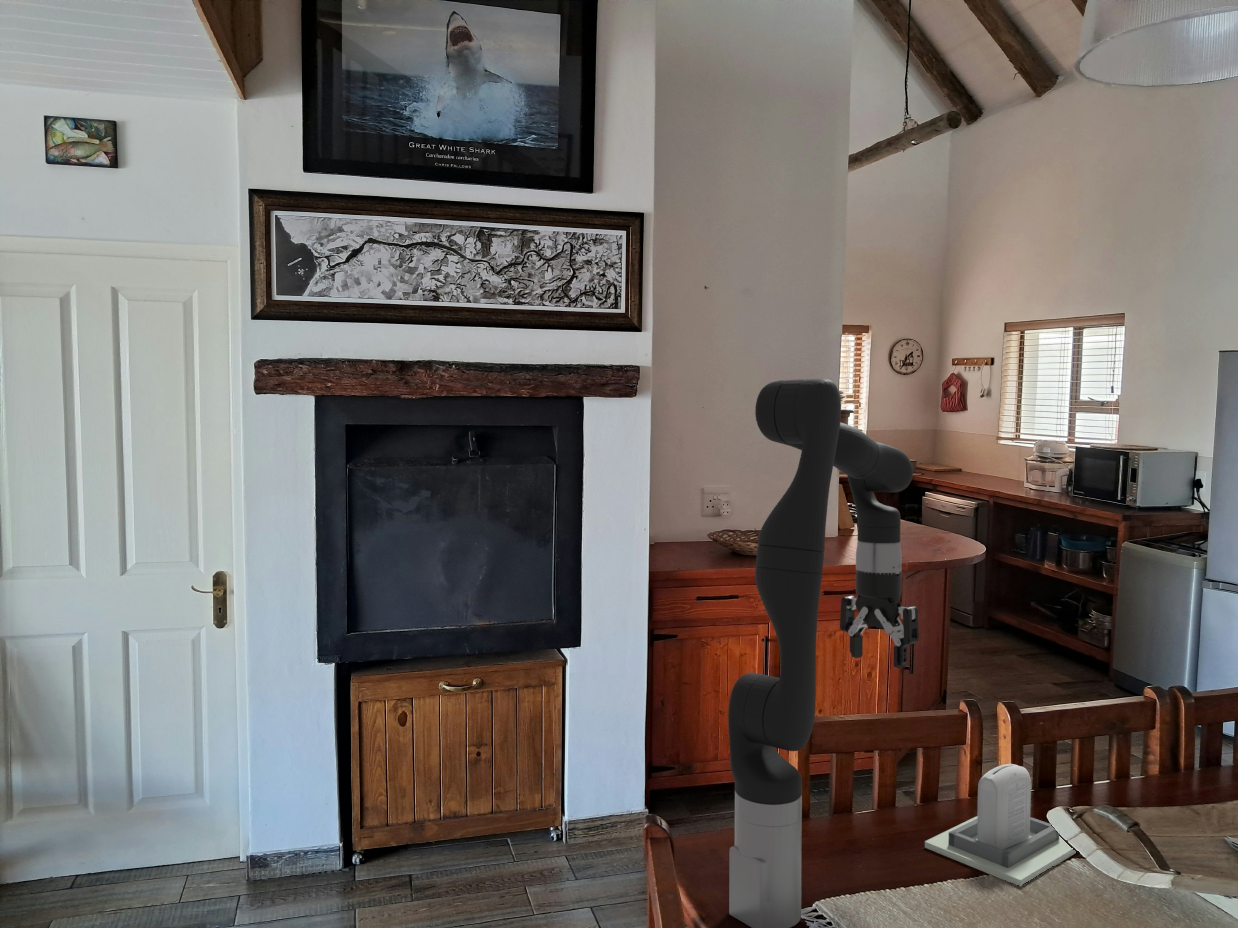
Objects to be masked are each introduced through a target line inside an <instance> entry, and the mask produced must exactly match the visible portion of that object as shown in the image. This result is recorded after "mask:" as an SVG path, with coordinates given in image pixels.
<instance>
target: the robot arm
mask: <svg viewBox="0 0 1238 928" xmlns="http://www.w3.org/2000/svg"><path fill="white" fill-rule="evenodd" d="M754 407H755V410H754V411H755V413H754V414H755V421H756V424H757V427H758V429H759V431H760V432H761V435H763V436H764V437H765V438H766V439H768V440H769V441H771V442H775V443H778V444H782V445H786V446H789V447H792V448H795V449H798V450H799V451H801V454H800V456H799V457H800V458H799V462H798V465H797V466H798V467H797V470H796V473H795V475H794V477H793V479H792V481H791V483H790V485H789V487H788V488H787V490H786V491H785V493H784V494H783V495H782V496H781V498H780V499H779V500H778V502H777V503H776V505H774V508H773V509H772V510H771V511H770V513H769V515H768V516H767V518H766V519H765V521H764V522H763V524H762V526H761V528H760V531H759V535H758V540H757V547H756V548H757V549H756V557H755V558H756V561H755V570H754V571H755V574H754V578H755V585H756V588H757V592H758V594H759V597H760V599H761V602H762V605H763V606H764V609H765V611H766V612H767V613H766V614H767V615H768V617H769V620H770V623H771V624H772V627H773V629H774V631H775V635H776V640H777V642H778V647H779V648H778V649H779V664H780V665H779V667H780V668H779V677H776V676H771V675H766V674H763V673H758V672H757V673H755V672H749V673H745V674H743V675H741V676H740V677H738V678H737V680H736V682H735V683H734V684H733V687H732V689H731V693H730V696H729V702H728V708H727V709H728V714H727V718H728V719H727V720H728V722H727V724H728V740H729V742H728V743H729V761H730V764H729V765H730V772H731V774H732V776H733V780H734V845H733V846H731V847H730V848H729V850H728V851H729V857H728V858H729V865H728V866H729V869H728V870H729V873H728V875H729V878H728V879H729V886H728V887H729V888H728V889H729V894H728V896H729V897H728V898H729V902H728V905H729V907H728V908H729V909H728V910H729V911H728V912H729V915H730V916H732V917H733V918H735V919H737V920H738V921H740V922H742V923H743V924H745V925H746V926H749V927H750V928H792V927H794V926H796V925H797V924H798V923H799V922H800V921H801V918H802V822H803V821H802V814H803V812H802V810H803V809H802V808H803V807H802V805H803V800H802V799H803V796H802V795H803V794H802V793H803V783H802V782H803V781H802V779H803V778H802V775H801V773H800V771H799V770H798V769H797V768H796V767H795V766H794V765H793V764H791V763H790V762H789V761H787V759H786V758H785V757H783V756H782V755H781V754H780V753H779V752H778V751H777V749H780V750H784V751H789V752H797V751H800V750H802V749H803V748H804V747H805V746H806V745H807V744H808V742H809V739H810V737H811V735H812V732H813V727H814V723H815V717H816V708H817V707H816V705H817V704H816V703H817V700H816V699H817V698H816V697H817V696H816V695H817V632H818V631H817V630H818V629H817V628H818V621H819V620H818V619H819V618H818V617H819V608H820V607H819V605H820V596H821V588H822V587H821V586H822V580H823V579H822V578H823V569H824V559H825V545H826V529H827V528H826V527H827V515H828V504H829V495H830V487H831V480H832V475H833V469H834V468H836V469H837V470H839V471H841V472H842V473H844V475H846V476H847V480H848V484H849V487H850V491H851V494H852V498H853V502H854V506H855V511H856V517H857V543H856V551H855V594H856V595H857V598H856V597H855V596H854V595H849V596H843V597H842V598H841V600H840V616H839V629H840V630H841V631H844V632H846V633H847V634H848V635H849V652H850V654H851V657H852V658H853V659H859V658H862V657H863V655H864V654H863V652H864V651H863V645H864V643H863V642H864V640H863V639H864V638H863V637H864V636H863V635H862V633H863V632H864V631H865V630H866V628H867V627H873V628H874V627H875V628H876V629H878V630H879V629H880V630H884V631H885V632H886V634H887V635H888V636H890V638H891V640H892V641H893V642H894V644H895V645H894V646H893V667H894V669H902V668H905V666H906V665H907V663H908V646H909V645H912V644H916V643H918V642H919V641H920V636H919V635H920V634H919V633H920V632H919V613H918V611H919V610H918V607H916V606H915V605H914V606H909V607H908V606H902V605H901V601H900V600H901V595H902V589H903V588H902V587H903V586H902V575H903V573H902V572H903V571H902V561H903V560H902V559H903V556H902V547H901V513H900V511H899V510H898V509H897V508H896V507H893V506H889V505H885V504H883V503H880V502H879V501H878V500H877V497H876V495H875V493H900V492H902V491H903V490H906V489H907V488H908V487H909V485H910V484H911V482H912V480H913V477H914V476H913V474H914V469H913V464H912V462H911V459H910V458H909V456H908V455H907V454H906V453H905V452H903V450H900V449H899V448H896V447H894V446H891V445H888V444H885V443H883V442H878V441H875V440H874V439H872V438H871V437H870V436H869V435H868V434H866V433H865V432H864V431H862V430H860V429H858V428H857V427H855V426H852V425H850V424H846V423H845V422H841V419H842V399H841V394H840V391H839V388H838V386H837V385H836V383H835V382H834V381H832V380H831V379H827V378H801V379H800V378H798V379H780V380H776V381H772V382H769V383H767V384H766V385H764V386H763V387H762V388H761V390H760V391H759V393H758V395H757V397H756V402H755V406H754ZM874 492H875V493H874ZM856 609H857V612H858V614H857V616H856V617H855V614H856ZM900 619H901V620H902V622H903V623H902V622H901V620H900Z"/></svg>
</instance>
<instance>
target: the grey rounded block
mask: <svg viewBox="0 0 1238 928" xmlns="http://www.w3.org/2000/svg"><path fill="white" fill-rule="evenodd" d="M977 785H978V786H977V787H978V788H977V816H978V820H977V840H978V841H980V842H983V843H986V844H988V845H991V846H993V847H996V848H999V849H1001V850H1003V849H1006V848H1008V847H1011V846H1013V845H1015V844H1018V843H1020V842H1022V841H1025V840H1026V839H1028V838H1029V836H1030V817H1031V799H1032V797H1031V796H1032V795H1031V793H1032V789H1031V786H1032V780H1031V776H1030V773H1029V771H1028V770H1027V768H1025V767H1024V766H1022V765H1021V766H1020V765H1017V764H1016V763H1015V764H1013V763H1006V764H1001V765H998V766H996V767H993V768H992V769H990V770H989V771H987V772H986V773H985V774H984V775H983V776H981V777H980V779H979V781H978V784H977Z"/></svg>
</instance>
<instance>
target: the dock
mask: <svg viewBox="0 0 1238 928" xmlns="http://www.w3.org/2000/svg"><path fill="white" fill-rule="evenodd" d="M977 820H978V815H977V816H974V817H972V818H970V819H967V820H966V821H965V822H962V823H960V824H958V825H956V826H954V827H951V828H950V829H947V830H946V831H943V832H941V833H939V834H937V835H935V836H933V837H931V838H929V839H927V840H924V848H925V849H927V850H930V851H932V852H935V853H937V854H939V855H942V856H944V857H947V858H950V859H951V860H954V861H957V862H959V863H961V864H964V865H967V866H969V867H972V868H974V869H977V870H979V871H981V872H983V873H986V874H988V875H990V876H994V878H995V877H996V878H998V879H1001V880H1003V881H1005V880H1006V882H1008V883H1010V882H1011V883H1010V884H1012V883H1014V884H1013V885H1015V884H1017V885H1019V886H1018V887H1020V888H1021V887H1023V886H1024V885H1025V884H1024V883H1026V882H1028V881H1029V880H1031V879H1033V878H1034V877H1035V876H1037V875H1039V874H1040V873H1042V872H1044V871H1045V870H1047V869H1049V868H1051V867H1052V866H1054V867H1055V866H1057V865H1059V864H1061V863H1062V862H1064V861H1065V860H1067V859H1069V858H1071V857H1072V856H1074V855H1075V854H1076V851H1075V850H1073V848H1071V847H1070V846H1069V845H1068V844H1067V843H1066V842H1065V841H1064V840H1063V839H1062V838H1061V837H1060V836H1059V834H1060V833H1059V834H1058V833H1057V832H1056V830H1055V829H1054V828H1053V827H1052V826H1051V824H1052V823H1048V822H1046V821H1043V820H1040V819H1037V818H1035V817H1031V816H1030V836H1029V838H1028V839H1026V840H1025V841H1022V842H1020V843H1018V844H1015V845H1013V846H1011V847H1008V848H1006V849H1003V850H1001V849H999V848H996V847H993V846H991V845H988V844H986V843H983V842H980V841H978V840H977ZM1052 868H1053V867H1052ZM1052 868H1051V869H1052ZM1049 870H1050V869H1049ZM1047 871H1048V870H1047ZM1044 873H1045V872H1044ZM1042 874H1043V873H1042ZM1039 876H1040V875H1039ZM1037 877H1038V876H1037ZM1034 879H1035V878H1034ZM1034 879H1033V880H1034ZM1031 881H1032V880H1031ZM1029 882H1030V881H1029ZM1029 882H1028V883H1029ZM1023 884H1024V885H1023ZM1026 884H1027V883H1026ZM1017 885H1016V886H1017ZM1022 885H1023V886H1022Z"/></svg>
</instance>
